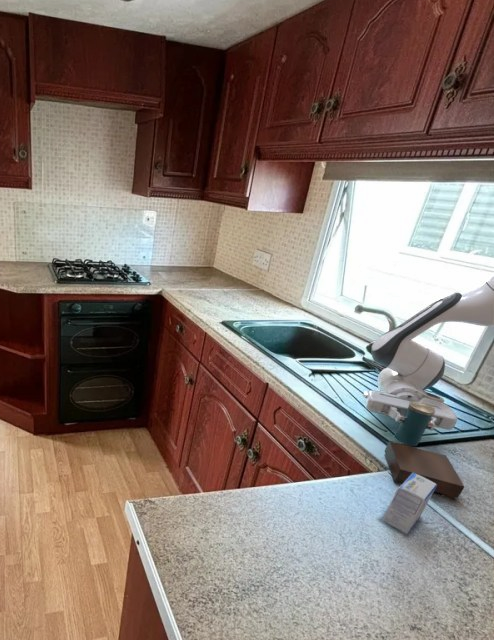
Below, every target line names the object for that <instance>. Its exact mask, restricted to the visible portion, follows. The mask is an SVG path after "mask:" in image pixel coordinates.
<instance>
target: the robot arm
mask: <svg viewBox="0 0 494 640" xmlns="http://www.w3.org/2000/svg"><path fill="white" fill-rule="evenodd" d="M447 322H448V323H464V324H469V325H474V326H480V327H494V272H493V273H492V274H491V275H489V276H488V277H486V278H485V280H483V281H482V282H480V283H479V284H477V285H476V286H473V287H472V288H469V289H467V290H463V291H461V292H450V293H448V294H446V295H443V296H441V297H440V298H439V299H437V300H435V301H434V302H432V303H431V304H429V305H428V306H426V307H424V308H423V309H421V310H420V311H419V312H417V313H416V314H414V315H413V316H411V317H409V318H408V319H406V320H405V321H404V322H402V323H401V324H399V325H397V326H395V328H392V329H390V330H388V331H387V332H385V333H383V334H381V335H380V336H378V338H377V339H376V340H374V342H373V343H372V345H371V347H370V353H371V358H372V360H373V362H374V363H376V364H377V365H380V366H383V367H384V369H382V370H381V371H379V374H378V377H377V380H376V381H377V384H376V385H377V388H378V390H374V389H371V390H368V391H365V390H363V392H362V396H363V398H365V401H364V405H365V409H366V410H368V411H369V412H372V413H376V414H381V415H385V416H389V417H390V418H392V419H394V421H395V422H396V423H399V424H400V423H403V422H404V420H405V417H404V415H405V413H406V410H407V408H408V405H409V403H410V402H412V401H416V402H421V403H424V404H427V405H429V406H431V407H432V408H434V409H435V413H434V415H433V416H432V418H431V420H430V422H429V424H428V426H427V427H426V429H425V430H428V431H434V430H435V428H438V429H443V430H447V431H451V430H452V429H454V428H455V426H456V424H457V422H458V416H457V414H456V412H454V410H453V409H452V408H451V407H450V406H449V405H447V404H446V403H445V399H444V397H442V396H440V395H437V394H433V393H431V392H427V390H429V389H430V388H432V387H433V386H435V385H436V384H437V383H438V382H439V381H440V380H441V379H442V377H443V376H444V374H445V369H446V362H445V359H444V356H442V355H441V354H440V353H437V352H435V351H434V350H432V349H429V348H428V347H425V346H423V345H421V344H419V343H418V342H416V341H414V339H415V338H416V337H418V336H420V335H421V334H423V333H424V332H426V331H428V330H429V329H431V328H433V327H434V326H436V325H438V324H440V323H441V324H442V323H447Z"/></svg>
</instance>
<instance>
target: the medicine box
mask: <svg viewBox="0 0 494 640" xmlns="http://www.w3.org/2000/svg"><path fill="white" fill-rule="evenodd" d="M436 487H437V484H436V483H434V482H432V481H430V480H428V479H426V478H424V477H422V476H420V475H418V474H415V473H412V474H411V475H410V476H409V477H408V479H407V480H406V481H405V482H404V483H403V484H400V486H399V487H398V488H397V489H396V492H395V493H394V496H393V498H392V500H391V501H390V503H389V506H388V507H387V510H386V512H385V513H384V516H383V518H382V521H384V522H385V523H387V524H388V525H390V526H392V527H393V528H396V529H397V530H399V531H401V532H402V533H404V534H406V535H407V534H408V533H410V531H411V530H412V528H413V527H414V525H415V524H416V522H417V521H418V520H419V518H421V516H422V513H423V512H424V510H425V509H426V507H427V505H428V503H429V501H430V500H431V497H432V495H434V493H435V492H434V490H435V489H436Z"/></svg>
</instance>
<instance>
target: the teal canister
mask: <svg viewBox="0 0 494 640" xmlns="http://www.w3.org/2000/svg"><path fill="white" fill-rule="evenodd" d="M434 413H435V409H434V408H432V407H431V406H429V405H427V404H424V403H421V402H416V401H412V402H410V403H409V405H408V408H407V410H406V413H405V415H404V417H405V420H404V422H403V423H399V425H398V427H397V429H396V432H395V434H394V438H395V440H396V441H397V442H398V443H400V444H404V445H408V446H412V447H417V446H419V443H420V442H421V439H422V437H423V435H424V433H425V431H426V430H427V429H426V427H427V426H428V424H429V422H430V420H431V418H432V416H433V415H434Z"/></svg>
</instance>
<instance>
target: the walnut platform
mask: <svg viewBox="0 0 494 640" xmlns="http://www.w3.org/2000/svg"><path fill="white" fill-rule="evenodd" d="M384 458H385V461H386V463H387V466H388V469H389V472H390V475H391V478H392V480H393V483H395V484H398V485H402V484H403V483H404V482H405V481H406V480H407V479H408V477H409V476H410V475H411V474H412V473H415V474H418V475H420V476H422V477H424V478H426V479H428V480H430V481H432V482H434V483H436V484H437V487H436V489H435V490H434V492H433V493H438V494H440V495H441V497H445V498H449V499H452V500H455V499H459V497H460V495H461V494H462V492H463V490H464V488H465V485H464V483H463V481H462V480H461V478H460V476H459V475H458V473H457V471H456V470H455V468H454V466H453V464H452V463H451V461H450V460H449V458H448V456H447V454H442V453H439V452H435V451H430V450H427V449H423V448H419V447H416V446H409V445H406V444H403V443H401V442H397V441H391V440H388V443H387V445H386V446H385V449H384Z"/></svg>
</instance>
